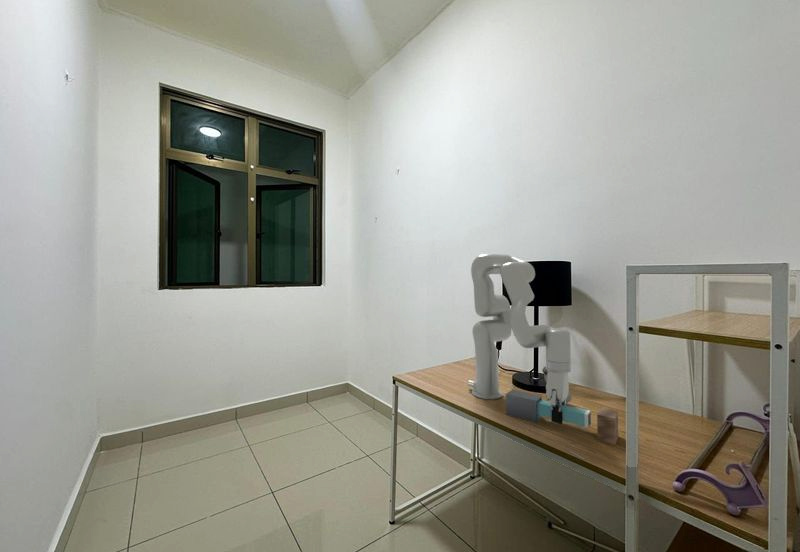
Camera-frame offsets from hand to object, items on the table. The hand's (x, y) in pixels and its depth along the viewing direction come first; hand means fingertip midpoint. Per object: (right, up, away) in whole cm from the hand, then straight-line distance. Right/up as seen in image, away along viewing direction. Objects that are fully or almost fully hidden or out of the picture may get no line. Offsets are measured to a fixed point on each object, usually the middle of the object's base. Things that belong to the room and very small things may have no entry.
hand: (558, 419), depth 108 cm
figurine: (+8, -2, +18) cm, 20 cm away
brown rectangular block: (+11, -2, -9) cm, 14 cm away
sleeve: (-9, -2, +7) cm, 12 cm away
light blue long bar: (-2, 0, +2) cm, 3 cm away
